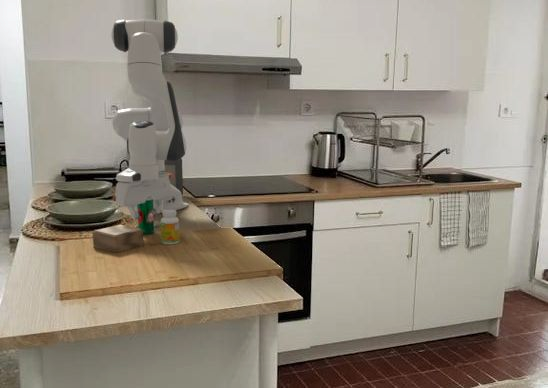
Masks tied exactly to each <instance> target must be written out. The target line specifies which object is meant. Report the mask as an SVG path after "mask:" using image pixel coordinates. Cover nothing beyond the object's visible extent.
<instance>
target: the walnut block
mask: <svg viewBox="0 0 548 388" xmlns="http://www.w3.org/2000/svg"><path fill="white" fill-rule="evenodd" d="M92 244H93V248H94V247H96V248H95V249H98V248H99V250H103V251H106V252H110V251H111V253H114V252H115V254H117V252H118V253H120V251H121V252H124V250H125V251H128V250H131V249H130V248H132V249H134V247H135V248H138V247H137V246H139V247H141V246H140V245H143V246H144V234H143V230H141V229H139V228H138V227H134V226H129V225H123V224H117V225H113V226H108V227H105V228H104V227H103V228H99V229H95V230H94V231H92ZM127 249H128V250H127Z"/></svg>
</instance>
